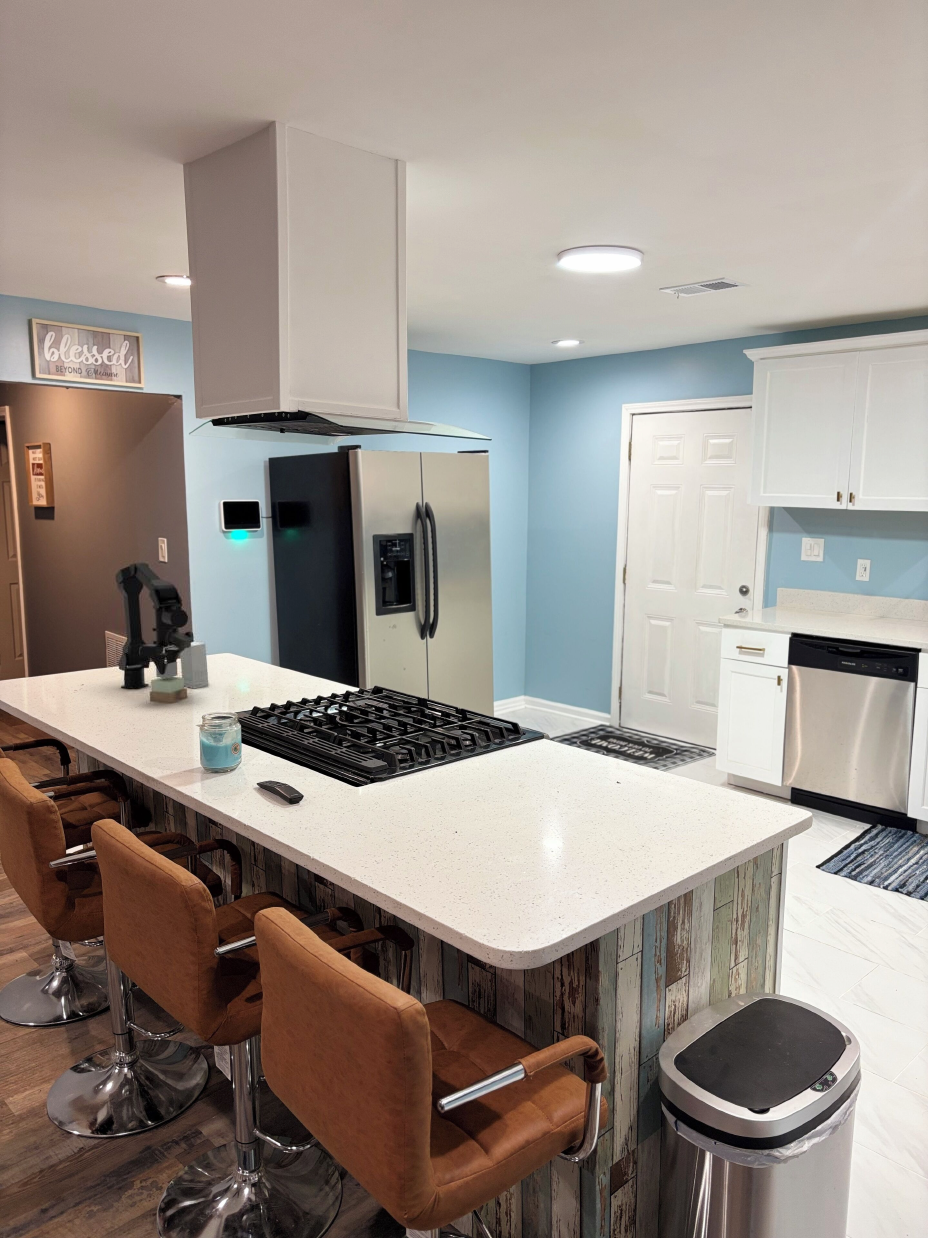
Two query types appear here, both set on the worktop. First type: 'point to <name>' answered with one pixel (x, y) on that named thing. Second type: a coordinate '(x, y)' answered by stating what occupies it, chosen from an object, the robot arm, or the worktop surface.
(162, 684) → the top block
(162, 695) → the base block
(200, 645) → the skincare box
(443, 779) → the worktop surface
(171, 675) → the cube
